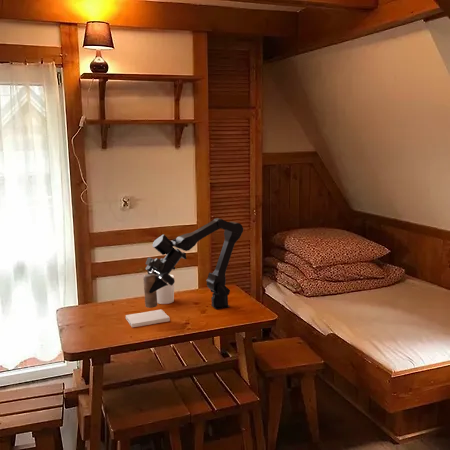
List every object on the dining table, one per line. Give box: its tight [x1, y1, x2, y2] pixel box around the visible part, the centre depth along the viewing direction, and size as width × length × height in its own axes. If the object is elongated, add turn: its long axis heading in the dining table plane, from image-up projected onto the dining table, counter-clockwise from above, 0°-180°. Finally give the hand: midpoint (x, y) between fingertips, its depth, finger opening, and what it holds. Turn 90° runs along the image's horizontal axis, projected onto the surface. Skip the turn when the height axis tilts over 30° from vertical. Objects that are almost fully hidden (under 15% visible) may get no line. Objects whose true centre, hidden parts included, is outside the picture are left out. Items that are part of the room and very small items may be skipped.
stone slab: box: [125, 309, 171, 328], centre depth 227 cm, size 16×12×2 cm
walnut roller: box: [142, 273, 158, 309], centre depth 222 cm, size 5×5×13 cm
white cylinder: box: [156, 273, 175, 305], centre depth 250 cm, size 10×10×12 cm
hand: (147, 291), depth 222 cm, fingers closed on walnut roller, 5 cm apart
